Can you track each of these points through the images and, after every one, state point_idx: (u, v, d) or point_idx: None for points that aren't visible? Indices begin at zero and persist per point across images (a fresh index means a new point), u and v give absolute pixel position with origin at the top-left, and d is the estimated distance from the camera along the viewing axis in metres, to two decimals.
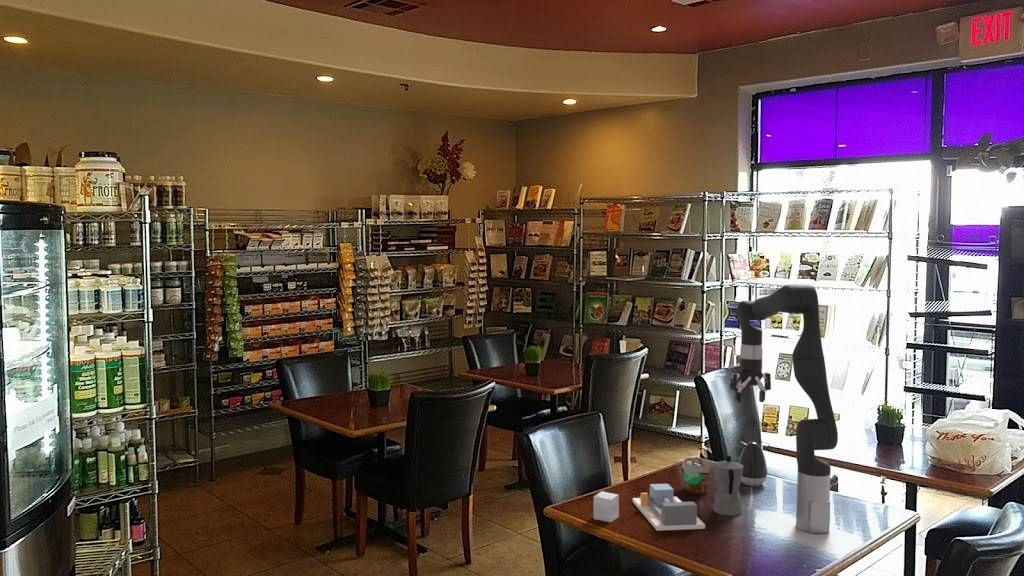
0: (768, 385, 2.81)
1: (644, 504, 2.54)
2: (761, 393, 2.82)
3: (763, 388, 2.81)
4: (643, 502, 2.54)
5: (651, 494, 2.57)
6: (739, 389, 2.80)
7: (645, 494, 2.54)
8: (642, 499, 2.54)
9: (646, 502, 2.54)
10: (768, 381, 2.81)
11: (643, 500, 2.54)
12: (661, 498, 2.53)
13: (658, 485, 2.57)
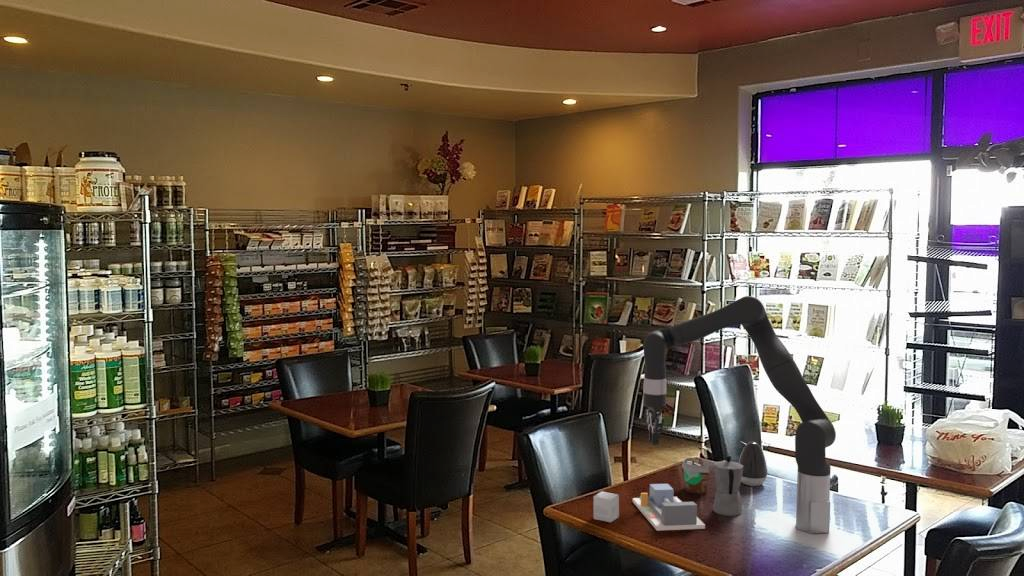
0: None
1: (644, 504, 2.54)
2: None
3: None
4: (643, 502, 2.54)
5: (651, 494, 2.57)
6: None
7: (645, 494, 2.54)
8: (642, 499, 2.54)
9: (646, 502, 2.54)
10: None
11: (643, 500, 2.54)
12: (661, 498, 2.53)
13: (658, 485, 2.57)
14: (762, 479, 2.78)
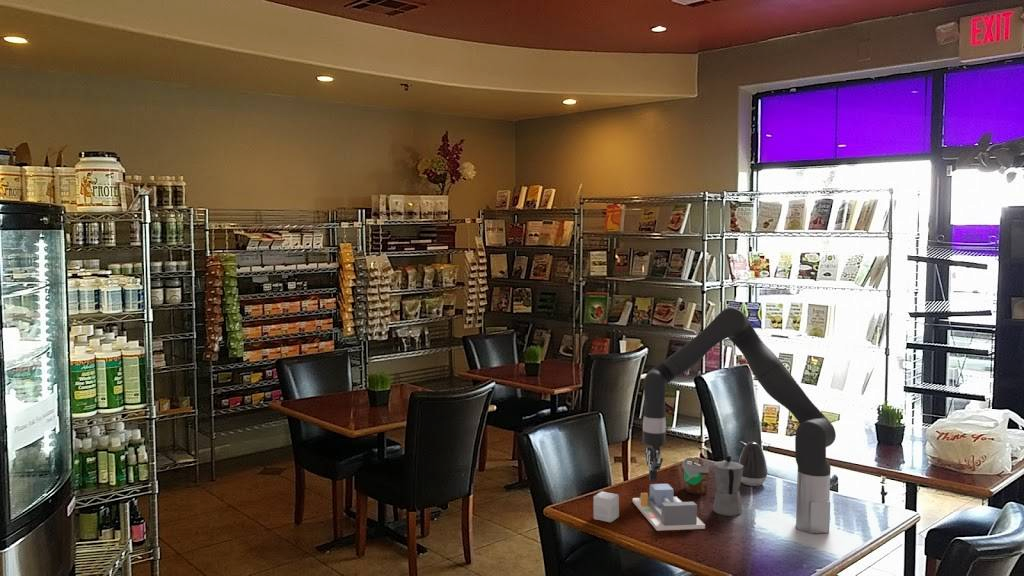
0: None
1: (644, 504, 2.54)
2: None
3: None
4: (643, 502, 2.54)
5: (651, 494, 2.57)
6: None
7: (645, 494, 2.54)
8: (642, 499, 2.54)
9: (646, 502, 2.54)
10: None
11: (643, 500, 2.54)
12: (661, 498, 2.53)
13: (658, 485, 2.57)
14: (762, 479, 2.78)
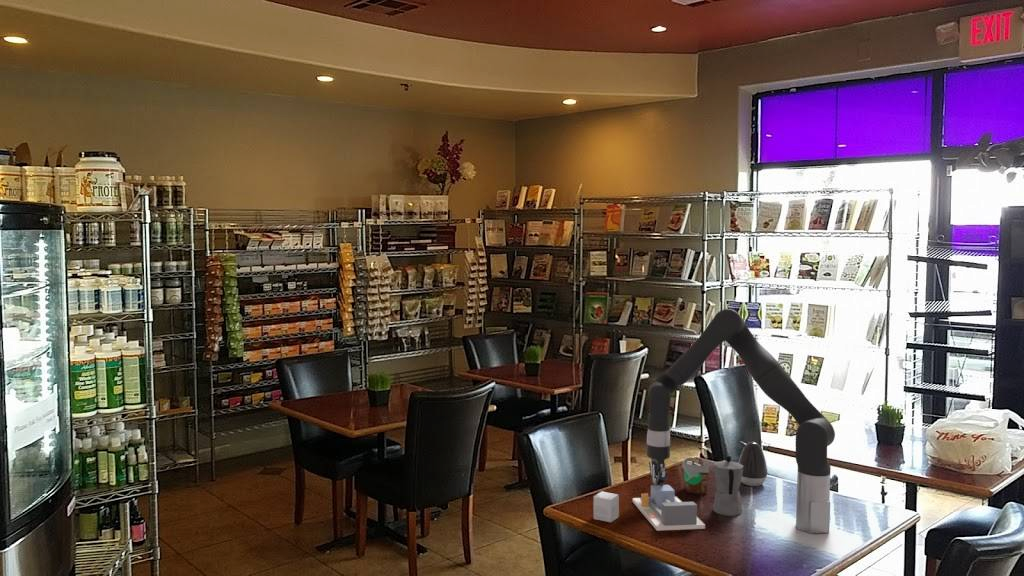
0: None
1: (645, 505, 2.53)
2: None
3: None
4: (643, 502, 2.53)
5: (652, 495, 2.56)
6: None
7: (646, 495, 2.53)
8: (643, 500, 2.53)
9: (647, 502, 2.53)
10: None
11: (643, 501, 2.53)
12: (662, 499, 2.52)
13: (659, 486, 2.56)
14: (762, 479, 2.78)
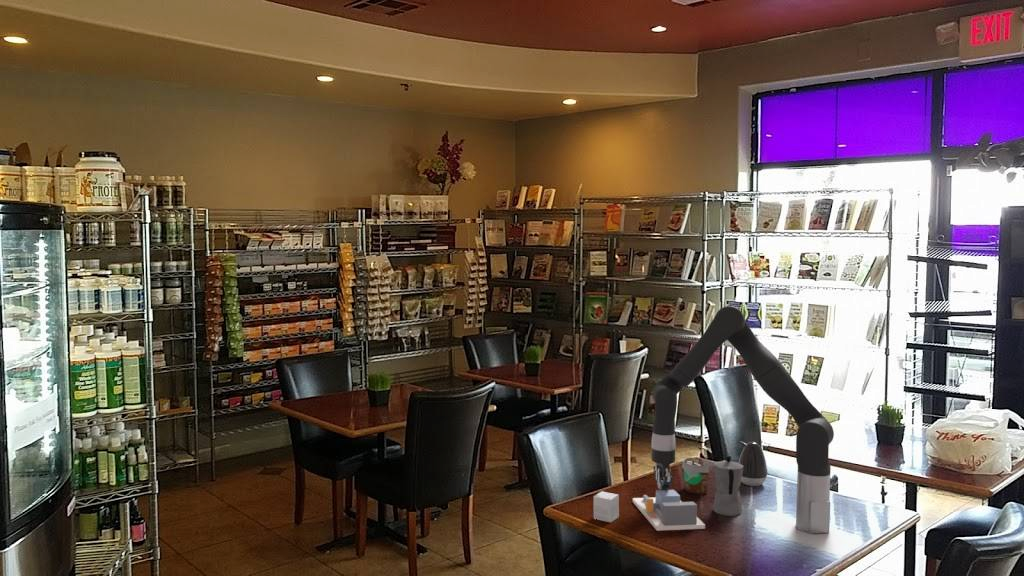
0: None
1: (649, 510, 2.48)
2: None
3: None
4: (648, 508, 2.48)
5: (657, 500, 2.50)
6: None
7: (651, 500, 2.48)
8: (647, 505, 2.48)
9: (651, 508, 2.48)
10: None
11: (648, 506, 2.48)
12: None
13: (664, 491, 2.51)
14: (762, 479, 2.78)
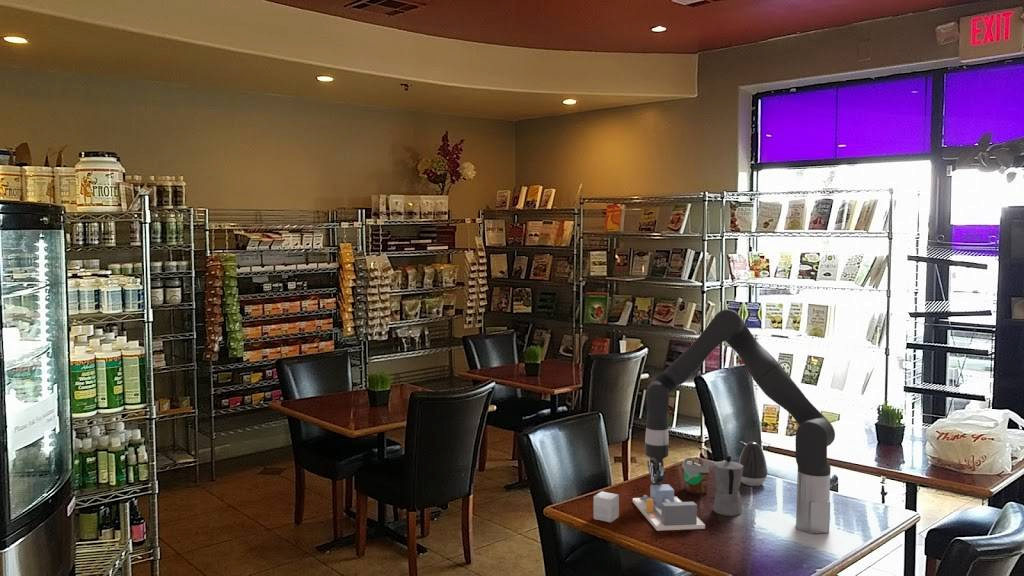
0: None
1: (649, 510, 2.48)
2: None
3: None
4: (648, 508, 2.48)
5: (652, 495, 2.56)
6: None
7: (651, 500, 2.48)
8: (647, 505, 2.48)
9: (651, 508, 2.48)
10: None
11: (648, 506, 2.48)
12: (662, 499, 2.52)
13: (659, 486, 2.56)
14: (762, 479, 2.78)
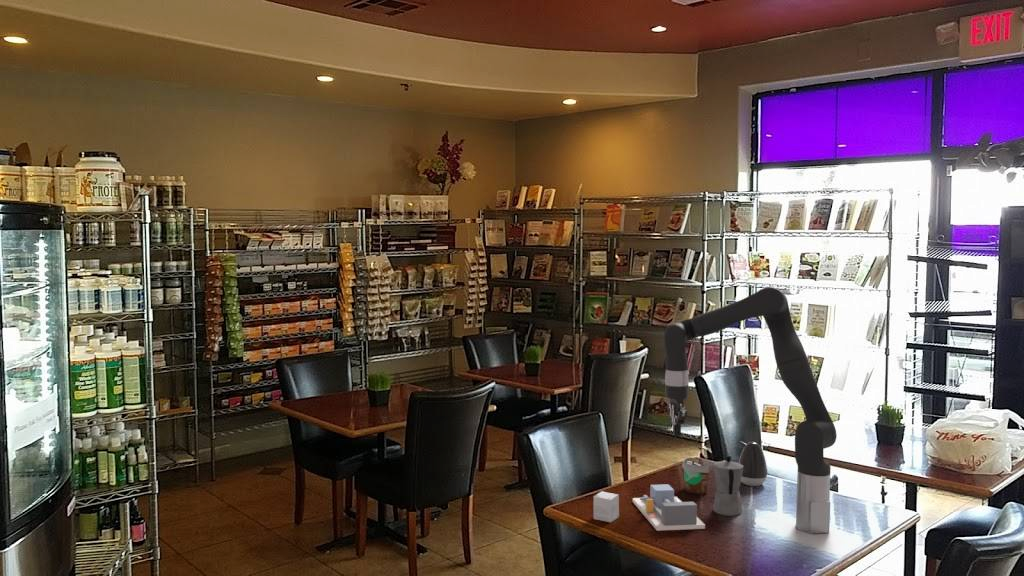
0: None
1: (649, 510, 2.48)
2: None
3: None
4: (648, 508, 2.48)
5: (652, 495, 2.56)
6: None
7: (651, 500, 2.48)
8: (647, 505, 2.48)
9: (651, 508, 2.48)
10: None
11: (648, 506, 2.48)
12: (662, 499, 2.52)
13: (659, 486, 2.56)
14: (762, 479, 2.78)
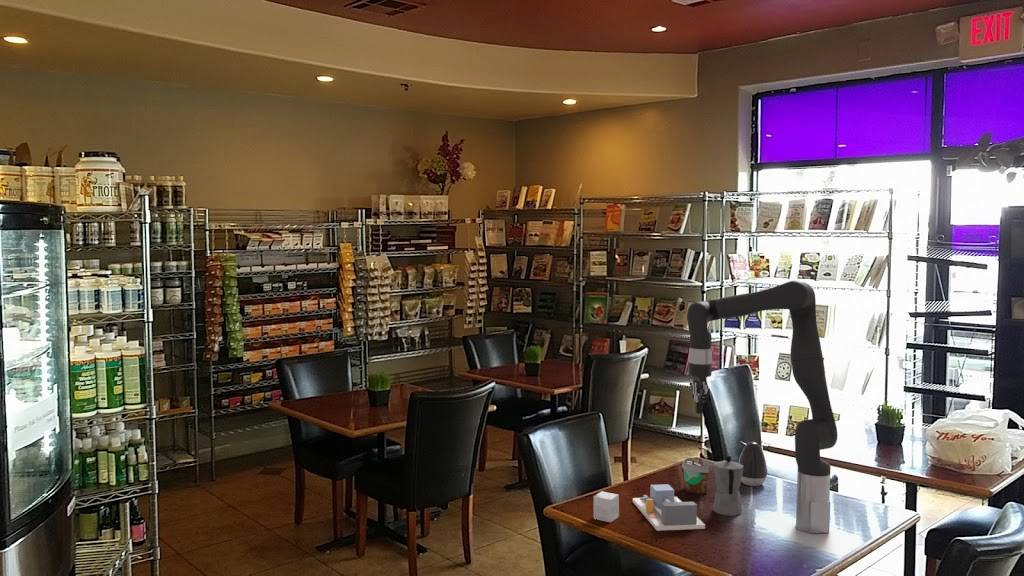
0: None
1: (649, 510, 2.48)
2: None
3: None
4: (648, 508, 2.48)
5: (652, 495, 2.56)
6: None
7: (651, 500, 2.48)
8: (647, 505, 2.48)
9: (651, 508, 2.48)
10: None
11: (648, 506, 2.48)
12: (662, 499, 2.52)
13: (659, 486, 2.56)
14: (762, 479, 2.78)
